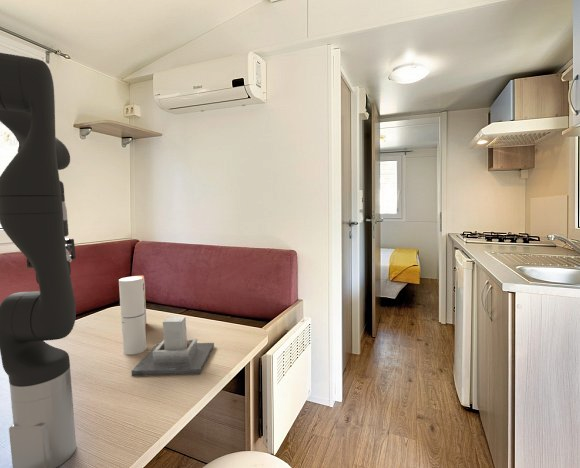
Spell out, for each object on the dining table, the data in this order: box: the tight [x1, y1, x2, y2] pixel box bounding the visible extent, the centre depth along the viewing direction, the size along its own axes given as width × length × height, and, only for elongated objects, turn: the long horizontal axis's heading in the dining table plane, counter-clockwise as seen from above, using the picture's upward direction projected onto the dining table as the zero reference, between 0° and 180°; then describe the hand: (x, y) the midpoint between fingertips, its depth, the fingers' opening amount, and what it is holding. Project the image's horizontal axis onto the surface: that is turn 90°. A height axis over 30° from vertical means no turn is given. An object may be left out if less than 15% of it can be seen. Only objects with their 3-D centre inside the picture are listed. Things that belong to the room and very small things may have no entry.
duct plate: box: [131, 338, 215, 377], centre depth 102 cm, size 18×20×5 cm
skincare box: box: [162, 316, 188, 350], centre depth 101 cm, size 6×4×12 cm
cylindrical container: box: [118, 275, 147, 356], centre depth 108 cm, size 7×7×25 cm
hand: (54, 279), depth 85 cm, fingers open, 8 cm apart
